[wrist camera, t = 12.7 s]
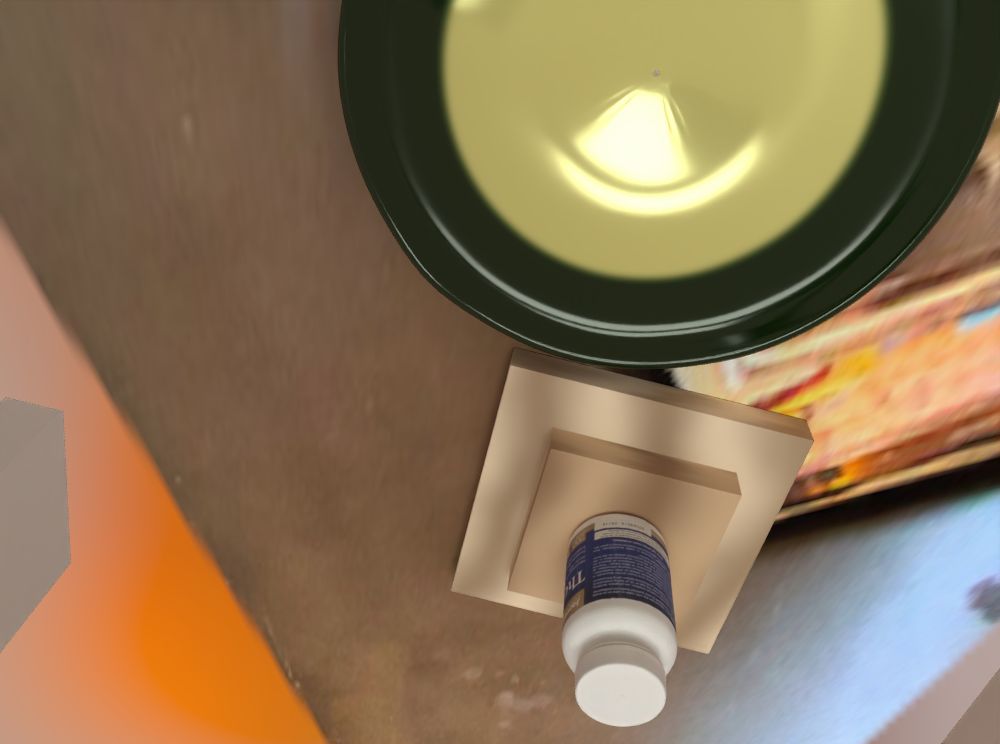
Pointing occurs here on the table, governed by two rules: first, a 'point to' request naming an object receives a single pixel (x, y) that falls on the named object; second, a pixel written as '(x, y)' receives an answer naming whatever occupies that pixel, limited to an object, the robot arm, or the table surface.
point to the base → (640, 427)
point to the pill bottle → (619, 619)
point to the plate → (664, 158)
